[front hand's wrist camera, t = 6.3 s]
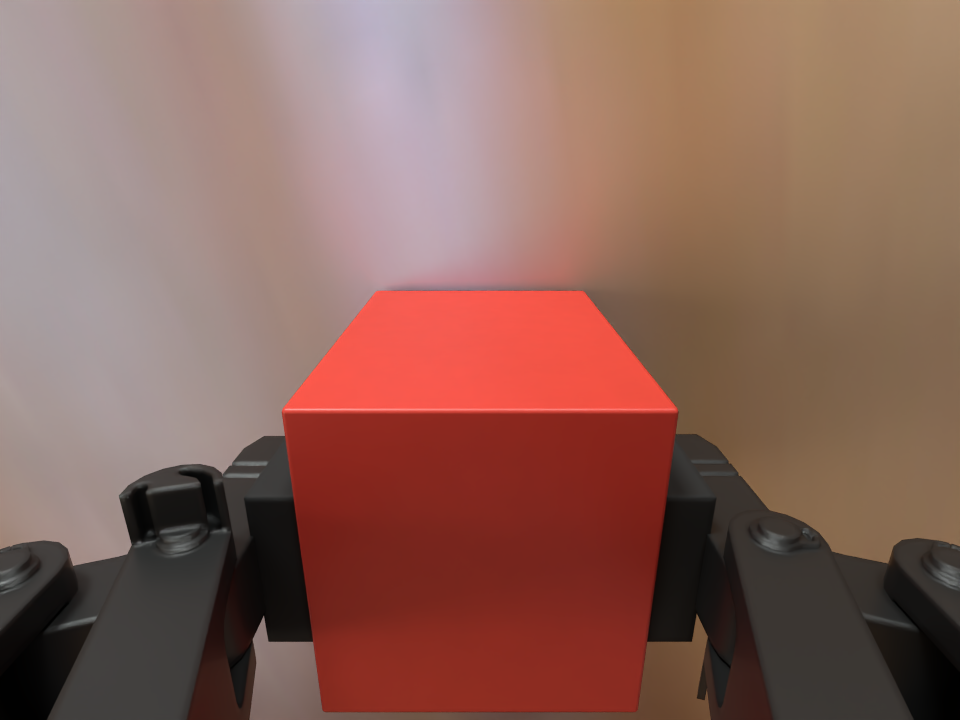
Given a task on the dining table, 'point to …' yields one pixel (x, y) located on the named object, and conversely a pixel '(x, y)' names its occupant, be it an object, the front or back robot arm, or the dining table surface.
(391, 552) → the brick
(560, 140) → the dining table surface
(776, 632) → the front robot arm
